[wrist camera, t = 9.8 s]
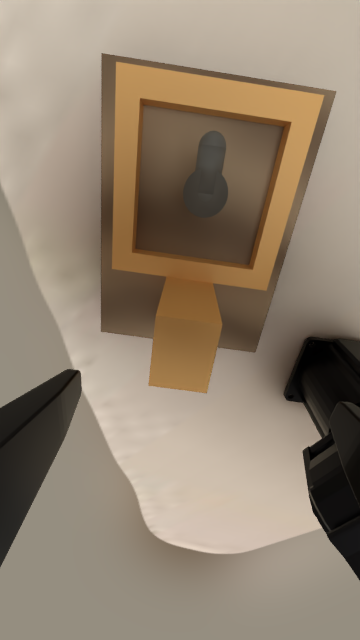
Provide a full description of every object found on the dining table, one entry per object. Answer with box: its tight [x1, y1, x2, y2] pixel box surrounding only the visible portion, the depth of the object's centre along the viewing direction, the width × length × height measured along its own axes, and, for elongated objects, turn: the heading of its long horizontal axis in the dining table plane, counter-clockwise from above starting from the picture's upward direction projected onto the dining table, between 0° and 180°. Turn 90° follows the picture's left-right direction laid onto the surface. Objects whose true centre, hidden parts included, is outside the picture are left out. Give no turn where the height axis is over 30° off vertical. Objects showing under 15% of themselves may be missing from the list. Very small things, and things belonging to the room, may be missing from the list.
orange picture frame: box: [112, 62, 324, 393], centre depth 14 cm, size 14×10×7 cm
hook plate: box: [101, 53, 336, 352], centre depth 16 cm, size 16×12×6 cm
